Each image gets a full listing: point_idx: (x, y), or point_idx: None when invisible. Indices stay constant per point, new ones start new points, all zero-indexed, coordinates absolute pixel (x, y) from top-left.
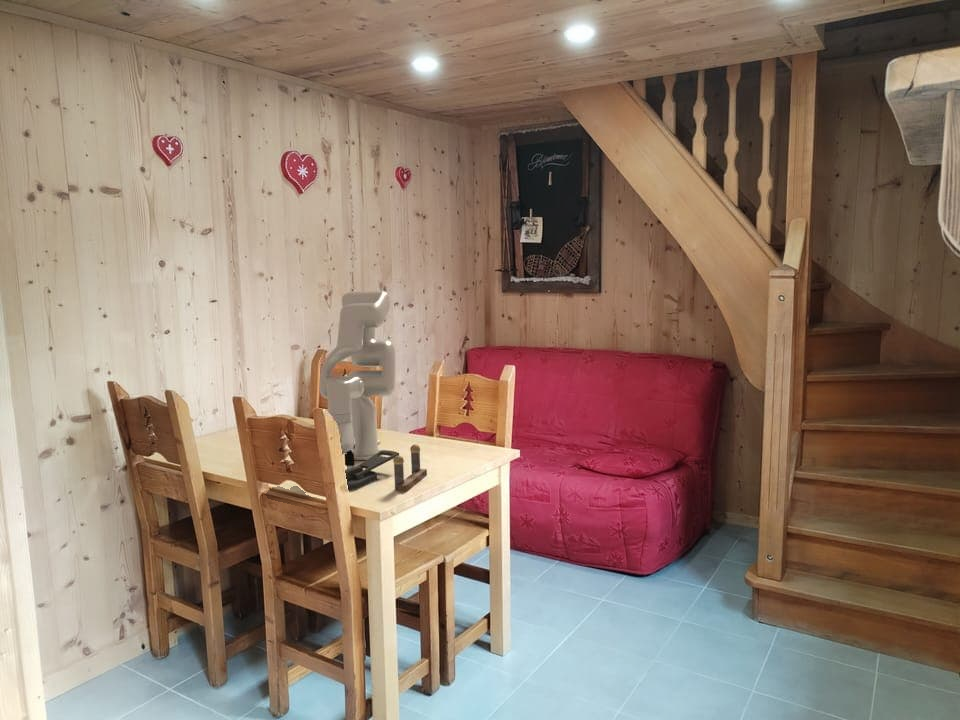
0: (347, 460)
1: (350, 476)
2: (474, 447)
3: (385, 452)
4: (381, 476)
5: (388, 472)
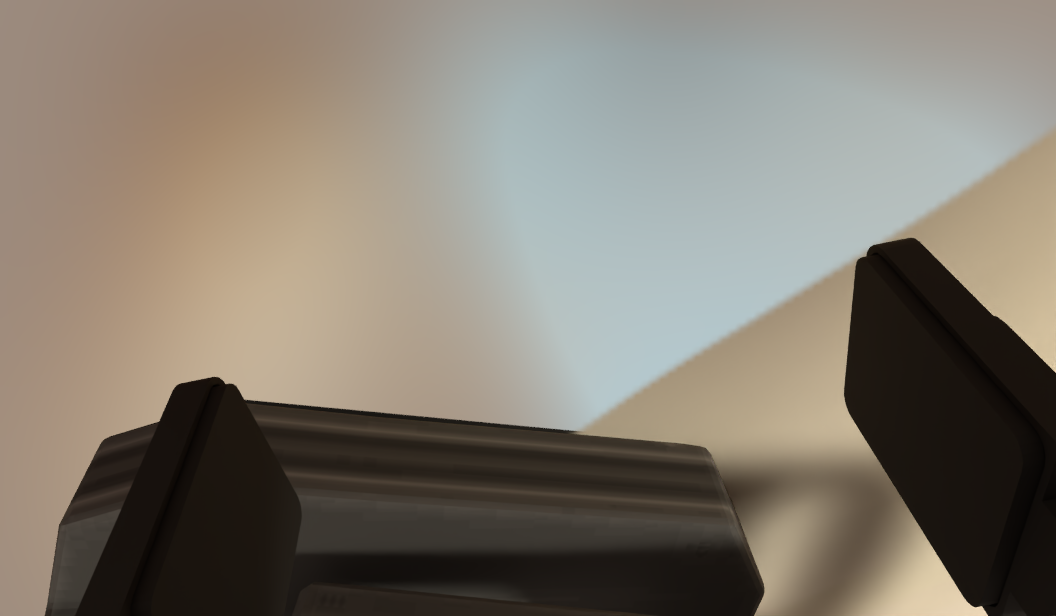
0: (917, 385)
1: (389, 577)
2: None
3: None
4: (780, 590)
5: None
